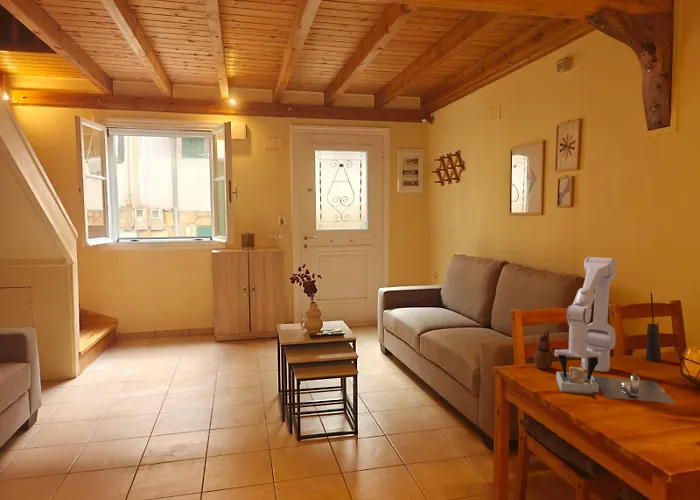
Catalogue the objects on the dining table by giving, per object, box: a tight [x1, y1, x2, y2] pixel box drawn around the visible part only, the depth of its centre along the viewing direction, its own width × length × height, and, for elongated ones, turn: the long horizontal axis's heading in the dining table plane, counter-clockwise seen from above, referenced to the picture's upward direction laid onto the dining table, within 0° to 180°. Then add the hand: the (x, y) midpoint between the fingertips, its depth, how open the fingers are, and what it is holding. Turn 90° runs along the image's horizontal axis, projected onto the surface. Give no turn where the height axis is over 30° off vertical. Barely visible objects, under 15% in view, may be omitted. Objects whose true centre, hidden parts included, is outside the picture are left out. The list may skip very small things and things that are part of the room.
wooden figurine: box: [533, 330, 554, 370], centre depth 184 cm, size 7×6×15 cm
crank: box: [621, 373, 640, 396], centre depth 157 cm, size 12×4×7 cm, turn 164°
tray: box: [555, 371, 600, 395], centre depth 165 cm, size 12×12×3 cm
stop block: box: [569, 366, 586, 384], centre depth 164 cm, size 4×4×6 cm
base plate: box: [592, 375, 677, 405], centre depth 160 cm, size 20×20×1 cm
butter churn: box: [645, 292, 662, 363], centre depth 192 cm, size 9×10×28 cm
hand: (576, 377), depth 165 cm, fingers open, 7 cm apart
